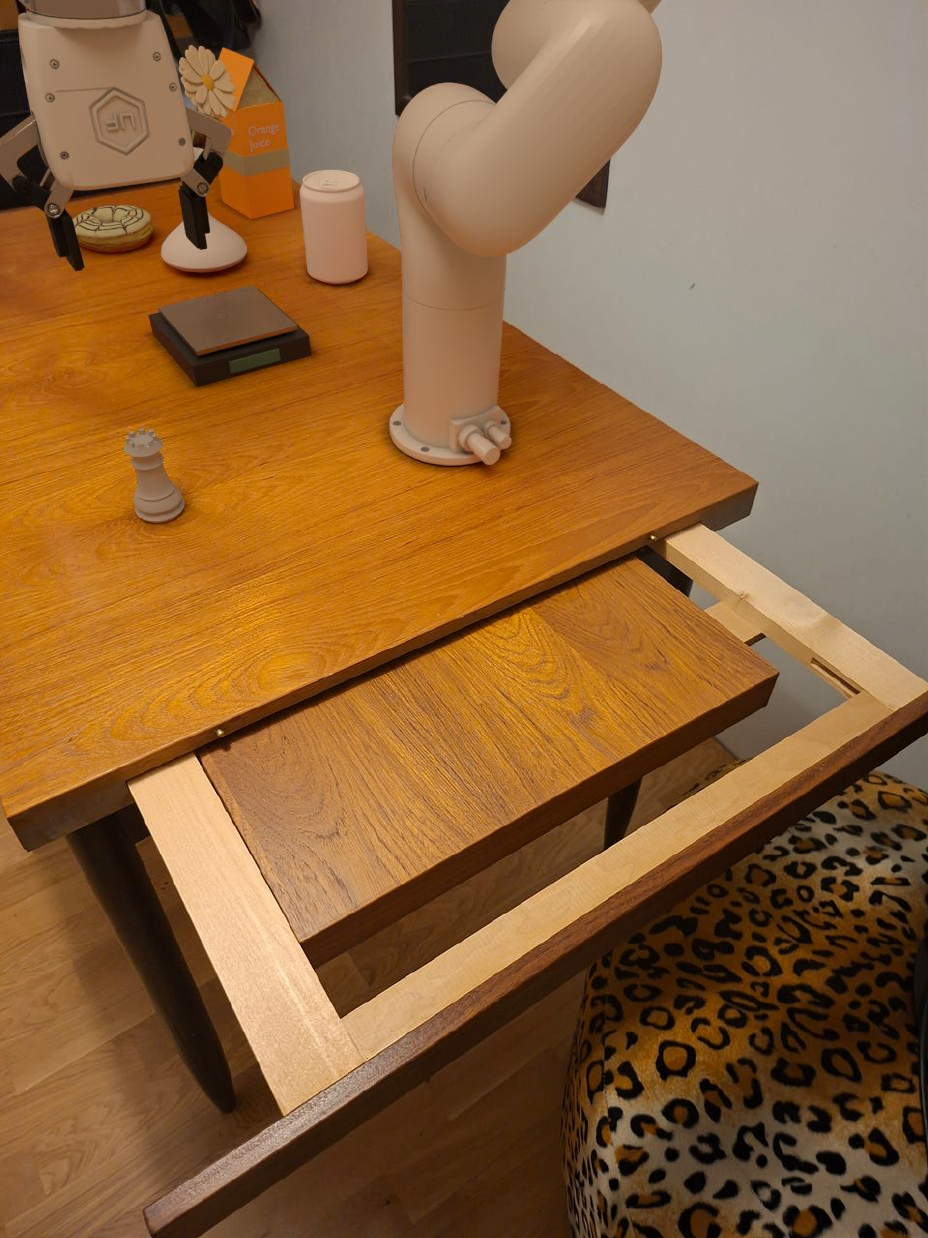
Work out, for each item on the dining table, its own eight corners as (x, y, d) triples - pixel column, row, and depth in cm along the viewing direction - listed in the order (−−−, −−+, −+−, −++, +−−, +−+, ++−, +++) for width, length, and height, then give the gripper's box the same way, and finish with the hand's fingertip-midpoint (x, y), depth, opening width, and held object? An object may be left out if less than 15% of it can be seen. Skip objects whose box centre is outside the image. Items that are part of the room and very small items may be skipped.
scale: (312, 355, 101) (310, 335, 99) (197, 387, 95) (193, 367, 94) (261, 307, 109) (258, 288, 108) (152, 334, 104) (148, 314, 102)
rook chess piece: (190, 495, 82) (172, 422, 76) (180, 525, 79) (161, 451, 73) (142, 495, 82) (120, 421, 76) (130, 525, 79) (107, 451, 73)
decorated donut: (94, 224, 126) (87, 197, 124) (165, 229, 126) (160, 202, 123) (63, 253, 119) (54, 224, 116) (139, 258, 118) (132, 230, 116)
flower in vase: (187, 288, 113) (143, 65, 95) (148, 258, 119) (100, 44, 101) (275, 264, 119) (249, 50, 101) (234, 237, 125) (202, 31, 107)
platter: (297, 330, 99) (296, 324, 99) (197, 356, 95) (196, 350, 94) (254, 290, 106) (253, 284, 106) (158, 312, 101) (157, 307, 101)
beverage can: (372, 263, 120) (368, 170, 111) (362, 289, 114) (357, 193, 105) (315, 259, 120) (306, 166, 112) (301, 284, 114) (291, 188, 106)
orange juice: (265, 191, 138) (246, 43, 124) (295, 208, 133) (279, 56, 119) (221, 201, 134) (196, 50, 120) (250, 219, 129) (228, 64, 115)
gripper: (-50, 8, 51) (35, 292, 63) (231, -5, 58) (259, 252, 70) (-72, -16, 55) (11, 254, 67) (191, -25, 62) (224, 220, 74)
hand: (137, 253), depth 69 cm, fingers open, 9 cm apart
